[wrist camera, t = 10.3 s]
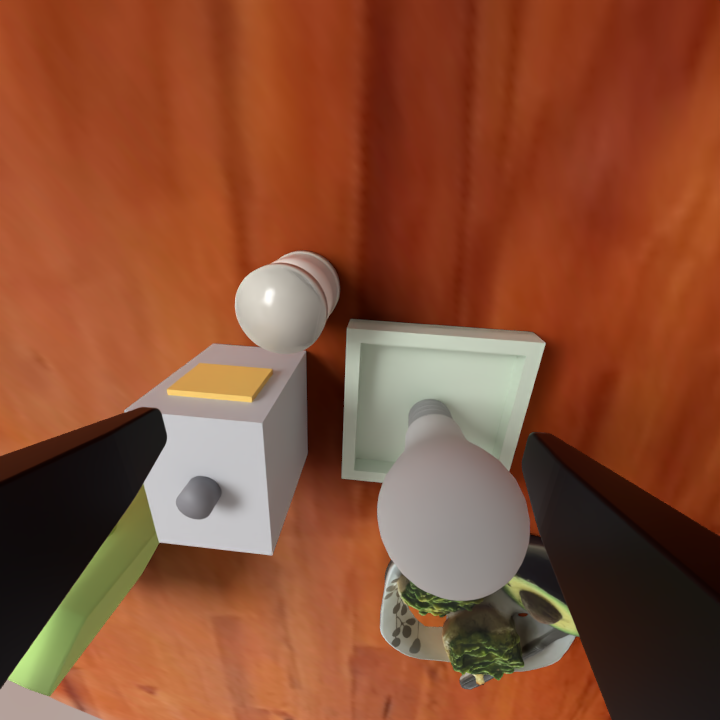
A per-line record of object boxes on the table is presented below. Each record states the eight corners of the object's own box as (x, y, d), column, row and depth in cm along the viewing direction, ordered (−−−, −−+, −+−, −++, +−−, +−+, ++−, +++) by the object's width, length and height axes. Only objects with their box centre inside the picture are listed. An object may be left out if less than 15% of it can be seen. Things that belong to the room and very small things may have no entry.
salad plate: (545, 679, 34) (566, 746, 30) (365, 649, 35) (362, 710, 30) (631, 544, 26) (678, 608, 22) (397, 507, 27) (398, 563, 22)
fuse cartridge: (339, 250, 19) (322, 265, 14) (341, 321, 21) (327, 355, 16) (266, 250, 19) (228, 265, 15) (274, 320, 21) (242, 352, 17)
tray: (533, 332, 20) (545, 343, 18) (495, 475, 24) (502, 494, 23) (350, 318, 21) (346, 328, 19) (344, 460, 25) (341, 478, 23)
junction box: (306, 346, 22) (252, 431, 13) (307, 457, 25) (266, 578, 17) (212, 339, 22) (104, 417, 14) (227, 449, 25) (147, 564, 17)
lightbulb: (471, 448, 23) (539, 640, 13) (379, 447, 23) (377, 632, 13) (482, 365, 20) (579, 526, 10) (378, 365, 21) (375, 520, 11)
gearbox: (84, 394, 25) (-87, 483, 16) (203, 461, 26) (103, 580, 17) (37, 538, 32) (-103, 656, 23) (135, 587, 33) (36, 720, 24)
